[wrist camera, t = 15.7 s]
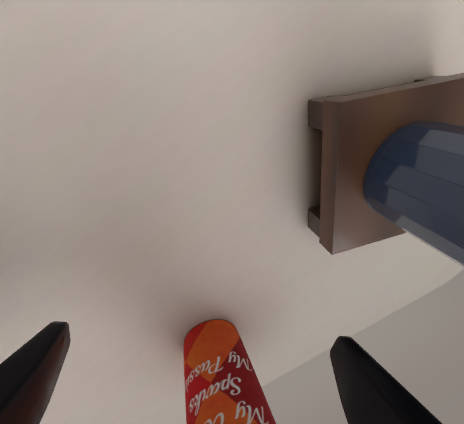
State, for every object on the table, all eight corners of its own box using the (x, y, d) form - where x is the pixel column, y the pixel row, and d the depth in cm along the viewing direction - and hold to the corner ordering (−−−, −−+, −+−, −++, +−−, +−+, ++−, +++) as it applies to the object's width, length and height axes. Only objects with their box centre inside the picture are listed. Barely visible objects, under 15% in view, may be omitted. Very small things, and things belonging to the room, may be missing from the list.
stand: (305, 229, 24) (331, 255, 20) (305, 97, 18) (340, 102, 15) (410, 200, 26) (450, 219, 22) (437, 72, 20) (495, 71, 17)
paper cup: (232, 299, 25) (306, 502, 13) (256, 343, 29) (329, 531, 17) (156, 335, 25) (161, 580, 13) (190, 375, 29) (218, 591, 17)
